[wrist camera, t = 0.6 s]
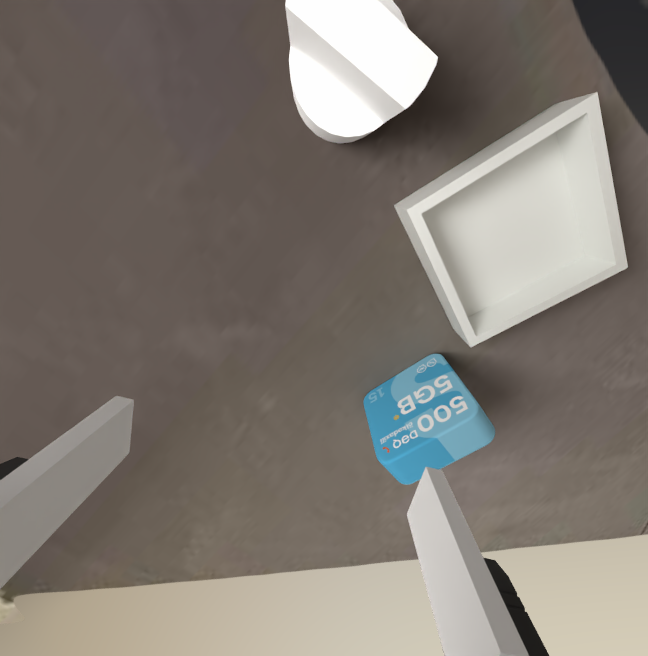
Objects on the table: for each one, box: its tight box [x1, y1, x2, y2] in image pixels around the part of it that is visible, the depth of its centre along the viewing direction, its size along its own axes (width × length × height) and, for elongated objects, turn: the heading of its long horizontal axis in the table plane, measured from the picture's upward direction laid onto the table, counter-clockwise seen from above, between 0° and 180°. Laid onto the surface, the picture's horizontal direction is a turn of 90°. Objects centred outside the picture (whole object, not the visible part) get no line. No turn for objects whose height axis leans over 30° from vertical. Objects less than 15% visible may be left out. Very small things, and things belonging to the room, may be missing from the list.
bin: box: [394, 92, 628, 347], centre depth 33 cm, size 17×17×5 cm
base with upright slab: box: [285, 0, 438, 143], centre depth 23 cm, size 9×9×12 cm
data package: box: [364, 354, 495, 484], centre depth 38 cm, size 12×4×12 cm, turn 127°
